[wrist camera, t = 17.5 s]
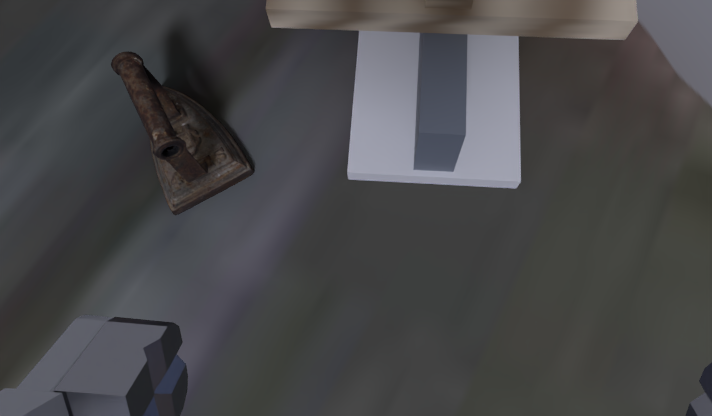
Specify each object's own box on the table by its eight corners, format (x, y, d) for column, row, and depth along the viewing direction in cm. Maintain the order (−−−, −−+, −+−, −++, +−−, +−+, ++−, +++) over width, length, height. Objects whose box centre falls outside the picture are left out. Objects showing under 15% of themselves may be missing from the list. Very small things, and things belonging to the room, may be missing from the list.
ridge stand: (516, 188, 42) (545, 146, 35) (348, 179, 43) (341, 136, 36) (513, -26, 48) (537, -102, 41) (365, -30, 49) (362, -106, 42)
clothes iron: (182, 226, 43) (100, 161, 35) (144, 131, 49) (65, 55, 40) (258, 179, 43) (195, 103, 35) (211, 90, 49) (147, 6, 40)
